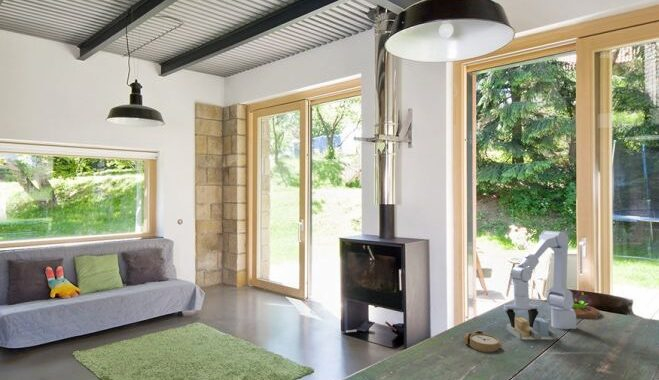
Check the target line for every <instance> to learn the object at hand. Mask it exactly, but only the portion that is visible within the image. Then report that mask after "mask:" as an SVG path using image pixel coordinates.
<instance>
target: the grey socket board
mask: <svg viewBox="0 0 659 380" xmlns="http://www.w3.org/2000/svg"><path fill="white" fill-rule="evenodd" d="M529 328H530V337H522V334H521V333H520V332H519V331H517V330H516V329H515V328H513V327H511V323H506V330H507V331H509V332H510V333H511V334H512V335H514V336H515V337H516V338H518V339H519V340H557V339H558V337H557V332H554V331H553V330H552V329H550V328H549V337H541V333H539V332H538V331H536V330H535V329H533V328H531V327H530V326H529Z"/></svg>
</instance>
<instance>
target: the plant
mask: <svg viewBox="0 0 659 380" xmlns="http://www.w3.org/2000/svg"><path fill="white" fill-rule="evenodd" d="M579 294H580V296H584V294H585V293H584V292H583V291H578V292H577V293H575V297H573V301H574V304H573V307H572V308H571V309H573V310H574V311H575V314H576V319H594V320H595V319H597V318H600V317H601V312H600V310H599V309H597V308H595V307H593V306H589V305H588V304H589V303H587V302H586V303H585V301H583V300H579V297H578V296H579Z"/></svg>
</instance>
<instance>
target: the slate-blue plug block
mask: <svg viewBox="0 0 659 380" xmlns="http://www.w3.org/2000/svg"><path fill="white" fill-rule="evenodd" d="M533 329H535V330H536V331H538V332H539V333H541V337H549V329H550V328H549V321H547V320H545V319H543V318H542V317H536V318H535V321H534V324H533Z"/></svg>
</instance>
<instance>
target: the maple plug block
mask: <svg viewBox="0 0 659 380" xmlns="http://www.w3.org/2000/svg"><path fill="white" fill-rule="evenodd" d="M515 329H516V330H517V331H519V332H520V333H521V334H522V337H530V328H529V320H527V319H526V318H523V317H515Z"/></svg>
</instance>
